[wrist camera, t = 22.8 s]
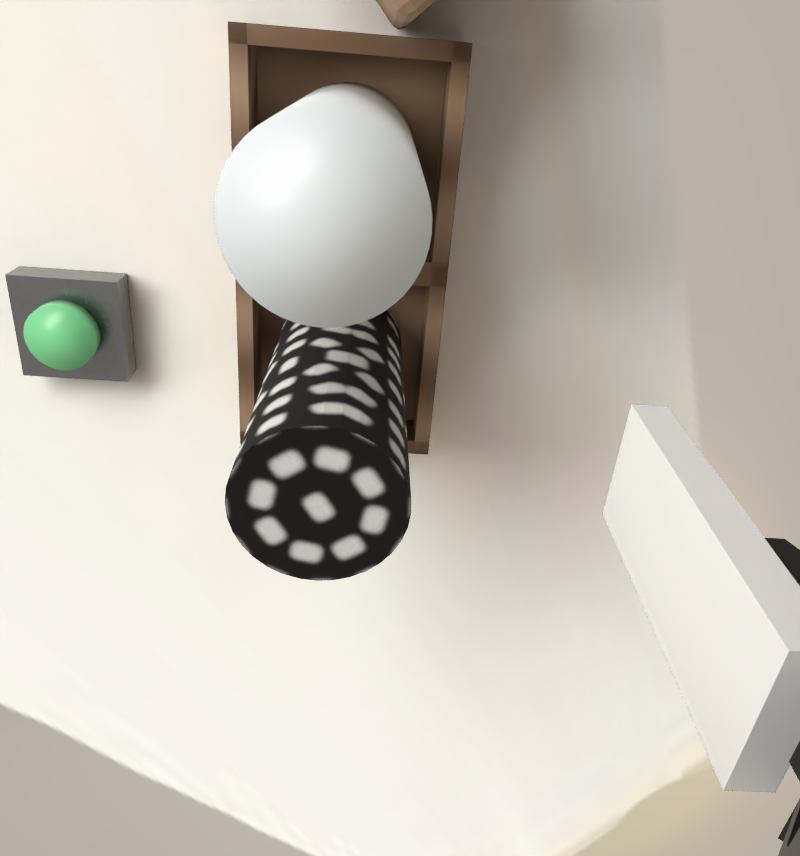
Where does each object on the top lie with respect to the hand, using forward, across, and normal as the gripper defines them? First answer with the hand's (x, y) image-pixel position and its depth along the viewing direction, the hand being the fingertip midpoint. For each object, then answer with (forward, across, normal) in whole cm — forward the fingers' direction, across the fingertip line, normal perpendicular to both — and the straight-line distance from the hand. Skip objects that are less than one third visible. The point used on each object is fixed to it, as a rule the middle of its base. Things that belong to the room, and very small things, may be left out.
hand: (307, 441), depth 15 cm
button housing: (+35, -19, -12) cm, 41 cm away
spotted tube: (+34, -1, -12) cm, 36 cm away
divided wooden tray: (+35, -1, -6) cm, 35 cm away
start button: (+34, -19, -12) cm, 40 cm away
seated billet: (+34, -1, 0) cm, 34 cm away
